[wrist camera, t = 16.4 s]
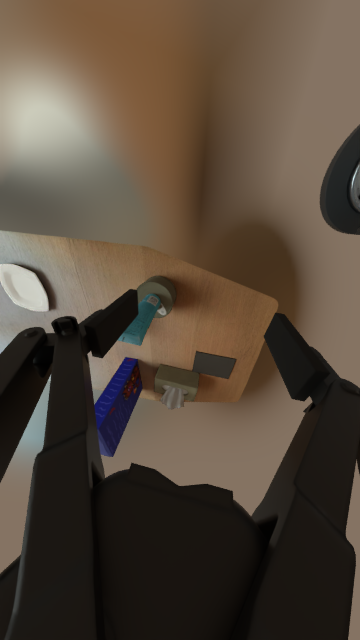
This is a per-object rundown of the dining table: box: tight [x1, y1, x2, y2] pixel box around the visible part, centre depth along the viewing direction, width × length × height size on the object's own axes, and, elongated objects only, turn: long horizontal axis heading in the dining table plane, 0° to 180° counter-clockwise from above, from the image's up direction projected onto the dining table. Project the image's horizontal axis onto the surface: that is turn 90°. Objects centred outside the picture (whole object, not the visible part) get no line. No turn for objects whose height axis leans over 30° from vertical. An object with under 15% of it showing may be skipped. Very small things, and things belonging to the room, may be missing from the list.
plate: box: [0, 264, 49, 311], centre depth 62 cm, size 19×19×2 cm
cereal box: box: [94, 357, 142, 457], centre depth 67 cm, size 22×6×30 cm, turn 179°
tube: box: [118, 294, 161, 346], centre depth 39 cm, size 7×5×19 cm, turn 86°
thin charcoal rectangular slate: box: [192, 351, 236, 379], centre depth 66 cm, size 16×12×1 cm
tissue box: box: [154, 364, 199, 409], centre depth 67 cm, size 19×10×16 cm, turn 82°
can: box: [137, 276, 176, 318], centre depth 50 cm, size 12×12×7 cm
